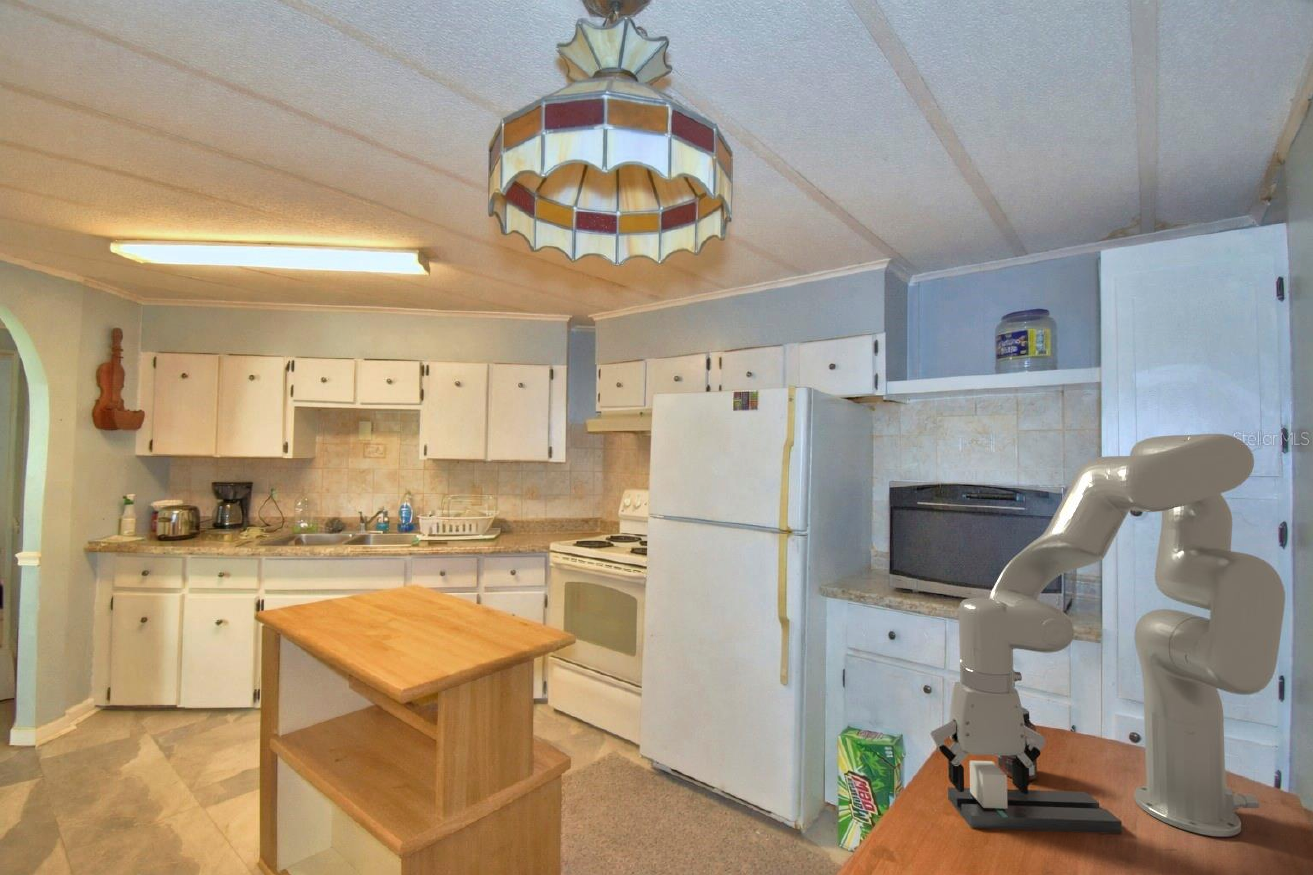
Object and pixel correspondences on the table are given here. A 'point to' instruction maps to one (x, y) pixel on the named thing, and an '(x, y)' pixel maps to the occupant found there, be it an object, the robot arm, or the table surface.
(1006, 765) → the supplement bottle
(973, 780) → the fader tab
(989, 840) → the table surface
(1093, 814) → the fader housing
